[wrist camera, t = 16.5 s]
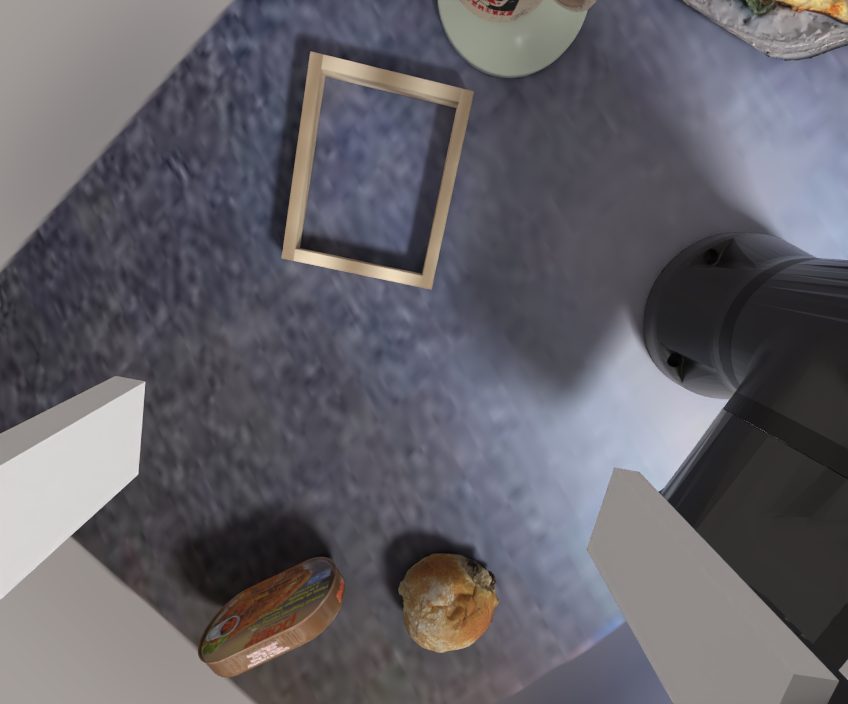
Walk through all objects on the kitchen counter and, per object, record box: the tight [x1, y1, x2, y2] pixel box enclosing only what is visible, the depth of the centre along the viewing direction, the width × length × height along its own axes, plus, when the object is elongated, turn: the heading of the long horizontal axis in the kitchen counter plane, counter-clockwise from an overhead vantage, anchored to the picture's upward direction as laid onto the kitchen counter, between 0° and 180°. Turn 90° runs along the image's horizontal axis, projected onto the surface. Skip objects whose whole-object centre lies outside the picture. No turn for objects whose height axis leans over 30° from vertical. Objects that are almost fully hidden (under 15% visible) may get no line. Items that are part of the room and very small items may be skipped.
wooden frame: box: [282, 51, 474, 289], centre depth 40 cm, size 13×16×2 cm
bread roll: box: [398, 553, 499, 653], centre depth 50 cm, size 10×10×8 cm
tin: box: [198, 557, 345, 677], centre depth 47 cm, size 15×3×8 cm, turn 117°
